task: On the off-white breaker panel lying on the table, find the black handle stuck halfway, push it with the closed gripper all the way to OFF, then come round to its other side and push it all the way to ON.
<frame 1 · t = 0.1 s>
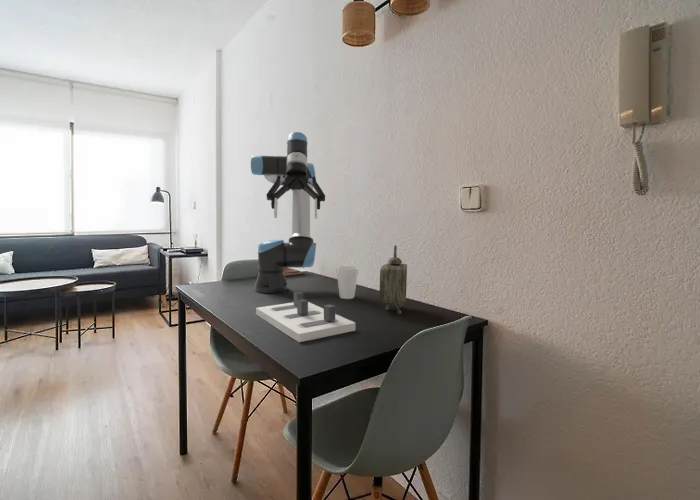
hand: (295, 216, 129), 36 cm above the table, tool tilted 35°, fingers open, 13 cm apart
tabletop clock: (392, 310, 146), on the table
breaker panel: (302, 322, 130), on the table
tripped handle: (302, 306, 129), point 5 cm above the table, slide at 4.0 cm
handle 1: (298, 298, 140), point 5 cm above the table, slide at 8.0 cm
foam cup: (347, 297, 166), on the table
handle 2: (329, 312, 122), point 5 cm above the table, slide at 8.0 cm
case: (279, 273, 224), on the table
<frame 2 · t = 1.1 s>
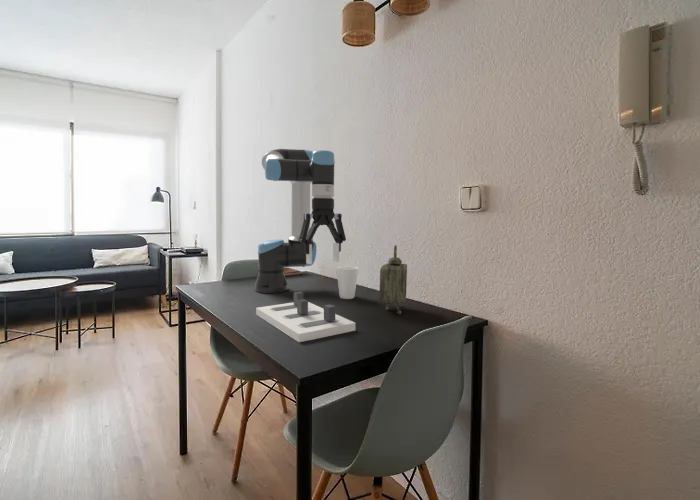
hand: (322, 262, 132), 20 cm above the table, tool pointing down, fingers open, 10 cm apart
nothing on the table moved.
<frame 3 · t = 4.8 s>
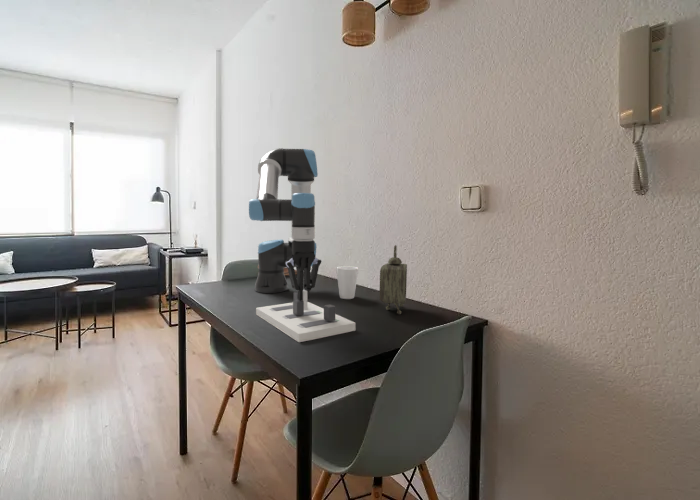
hand: (303, 309, 129), 4 cm above the table, tool pointing down, fingers closed
tripped handle: (298, 307, 128), point 5 cm above the table, slide at 2.4 cm, touching gripper
everything else where it was.
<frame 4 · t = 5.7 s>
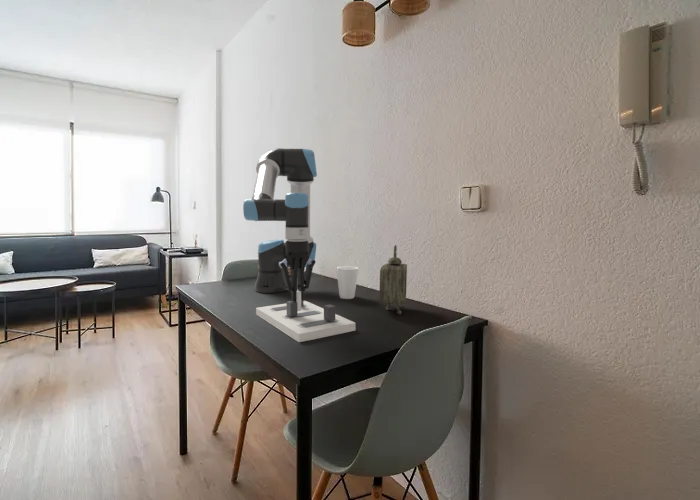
hand: (297, 310, 128), 4 cm above the table, tool pointing down, fingers closed
tripped handle: (292, 308, 127), point 5 cm above the table, slide at 0.1 cm, touching gripper
everything else where it was.
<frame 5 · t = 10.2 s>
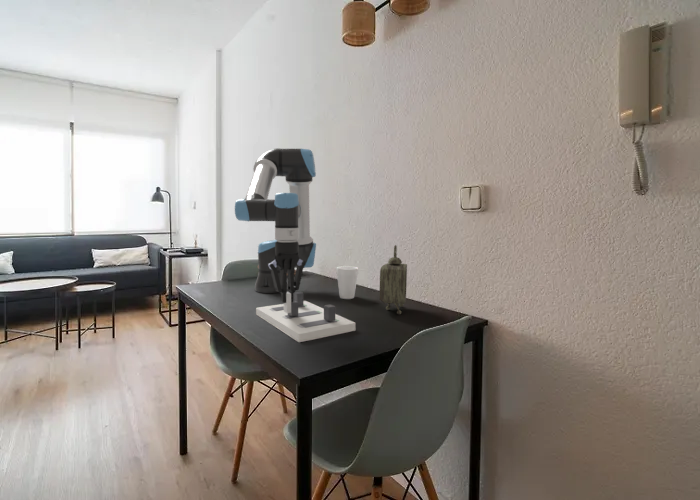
hand: (287, 311, 126), 4 cm above the table, tool pointing down, fingers closed
tripped handle: (292, 308, 127), point 5 cm above the table, slide at 0.4 cm, touching gripper
everything else where it was.
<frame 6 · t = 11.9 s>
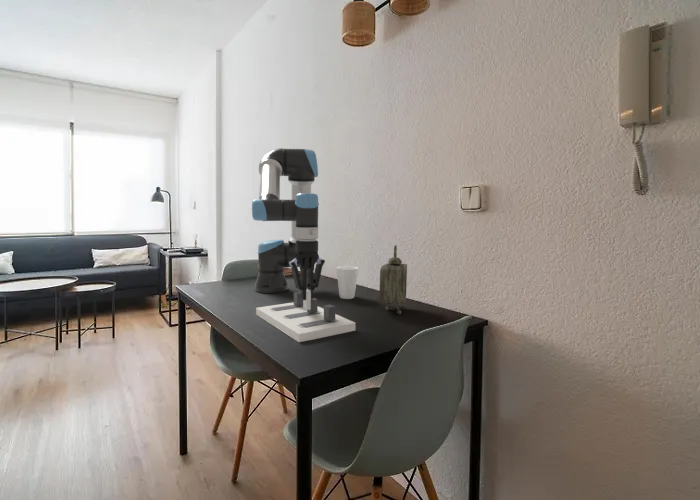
hand: (307, 308, 130), 4 cm above the table, tool pointing down, fingers closed
tripped handle: (312, 305, 131), point 5 cm above the table, slide at 7.7 cm, touching gripper
everything else where it was.
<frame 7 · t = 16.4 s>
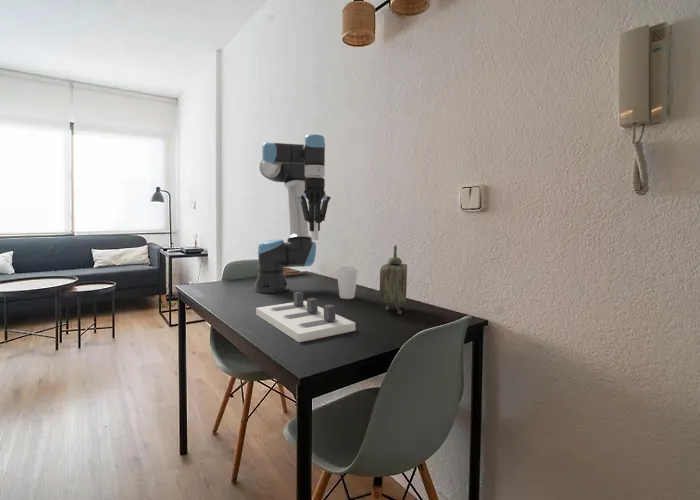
hand: (314, 239, 146), 26 cm above the table, tool pointing down, fingers closed
tripped handle: (312, 305, 131), point 5 cm above the table, slide at 7.7 cm
everything else where it was.
at the end: tripped handle slide at 7.7 cm; handle 1 slide at 8.0 cm; handle 2 slide at 8.0 cm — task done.
